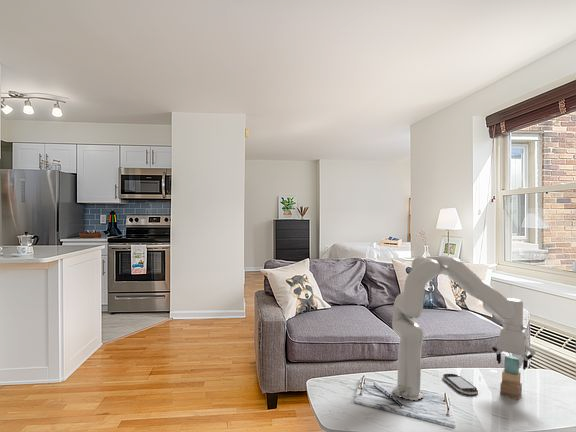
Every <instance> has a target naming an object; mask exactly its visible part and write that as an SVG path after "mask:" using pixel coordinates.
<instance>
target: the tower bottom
mask: <svg viewBox="0 0 576 432" xmlns="http://www.w3.org/2000/svg"><path fill="white" fill-rule="evenodd" d="M522 387H523V383H522V382H520V385H519V386H518V388H517V387H513V386H509V385H506V384H502V381H501V382H500V387H499V389H500V391H499V393H500V394H499V395H500V396H505V397H507V398H510V397H511V398H510V399H514V400H516V401H517V400H518V401H519V400H520V398H521V396H522V393H523V392H522V391H523V389H522Z"/></svg>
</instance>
